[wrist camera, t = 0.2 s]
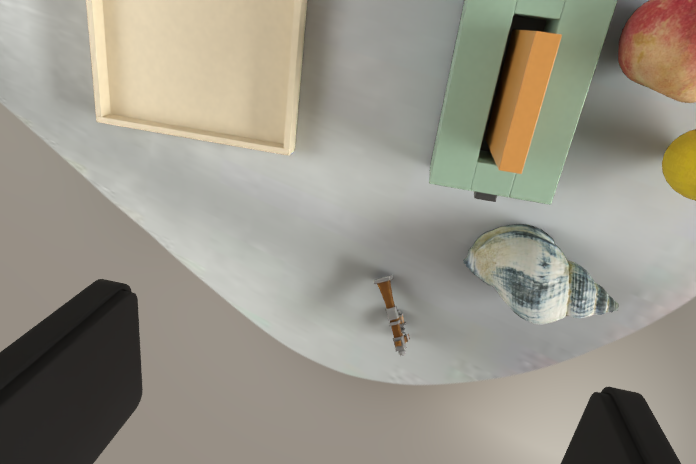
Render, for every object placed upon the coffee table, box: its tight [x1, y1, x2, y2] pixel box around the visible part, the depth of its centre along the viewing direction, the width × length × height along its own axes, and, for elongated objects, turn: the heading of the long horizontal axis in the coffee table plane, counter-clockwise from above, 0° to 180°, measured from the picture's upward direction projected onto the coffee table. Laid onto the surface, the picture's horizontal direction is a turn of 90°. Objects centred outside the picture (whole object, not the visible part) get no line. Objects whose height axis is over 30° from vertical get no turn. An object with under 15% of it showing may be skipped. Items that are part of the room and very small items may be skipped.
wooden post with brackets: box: [373, 275, 410, 356], centre depth 50 cm, size 2×8×4 cm, turn 21°
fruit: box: [618, 0, 696, 103], centre depth 34 cm, size 8×8×8 cm
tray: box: [86, 0, 307, 155], centre depth 43 cm, size 15×19×2 cm
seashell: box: [464, 224, 618, 324], centre depth 44 cm, size 6×8×12 cm
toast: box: [485, 29, 562, 174], centre depth 36 cm, size 9×2×10 cm, turn 173°
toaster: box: [429, 0, 618, 204], centre depth 39 cm, size 17×10×5 cm, turn 173°
